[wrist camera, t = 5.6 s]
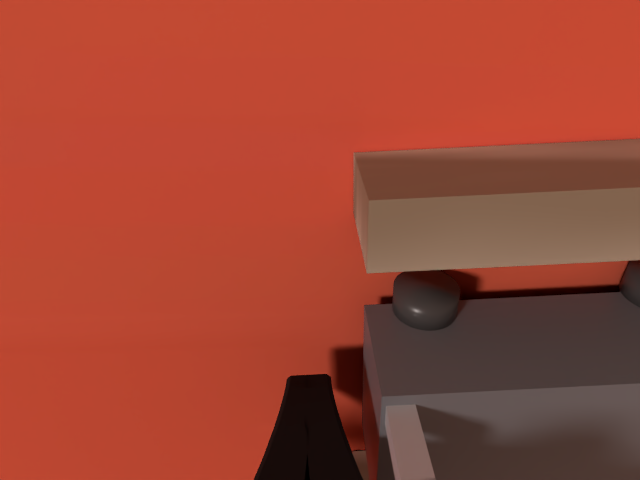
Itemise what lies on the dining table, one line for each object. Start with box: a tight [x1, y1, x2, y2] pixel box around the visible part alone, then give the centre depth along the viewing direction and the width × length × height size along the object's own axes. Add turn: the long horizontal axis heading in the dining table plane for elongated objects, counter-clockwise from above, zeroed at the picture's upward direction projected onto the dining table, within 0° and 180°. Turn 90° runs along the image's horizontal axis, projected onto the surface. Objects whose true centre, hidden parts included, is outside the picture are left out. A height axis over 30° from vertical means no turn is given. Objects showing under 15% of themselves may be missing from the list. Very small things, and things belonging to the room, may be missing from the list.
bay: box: [353, 139, 640, 480], centre depth 11 cm, size 13×12×2 cm
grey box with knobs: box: [362, 260, 640, 480], centre depth 10 cm, size 6×9×5 cm
